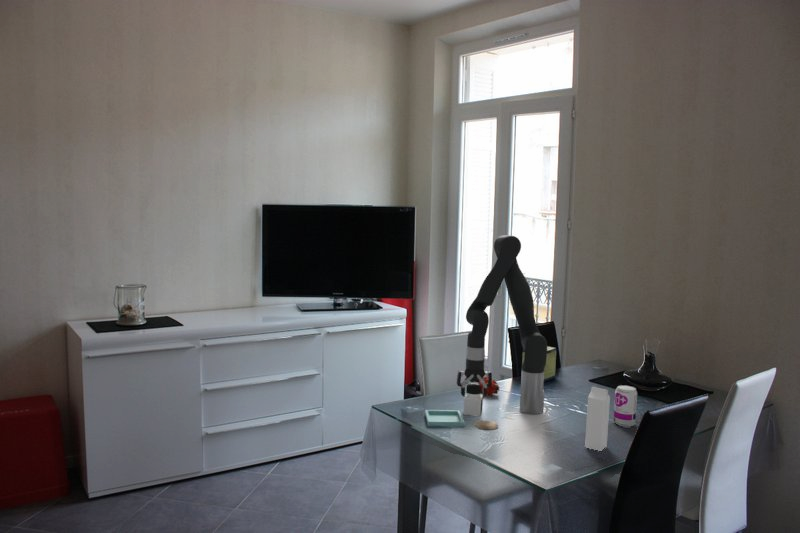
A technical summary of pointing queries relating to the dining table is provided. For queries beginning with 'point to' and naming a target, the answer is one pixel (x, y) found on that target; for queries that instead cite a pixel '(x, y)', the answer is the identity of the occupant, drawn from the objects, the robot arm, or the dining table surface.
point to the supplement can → (625, 405)
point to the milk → (597, 419)
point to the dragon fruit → (491, 389)
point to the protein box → (548, 363)
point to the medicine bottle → (473, 400)
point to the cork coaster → (486, 425)
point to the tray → (444, 418)
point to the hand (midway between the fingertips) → (473, 396)
